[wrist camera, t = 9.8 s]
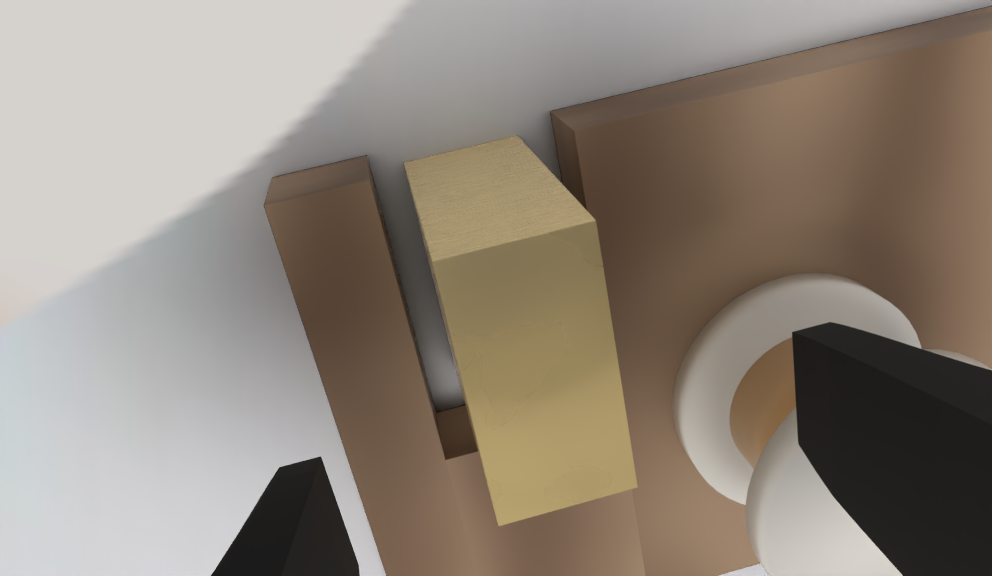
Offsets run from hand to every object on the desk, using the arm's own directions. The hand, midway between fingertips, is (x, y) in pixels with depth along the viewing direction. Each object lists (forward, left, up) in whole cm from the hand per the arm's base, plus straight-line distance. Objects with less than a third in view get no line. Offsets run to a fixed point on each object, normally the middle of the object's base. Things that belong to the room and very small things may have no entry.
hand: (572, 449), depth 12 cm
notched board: (-6, +3, -7) cm, 10 cm away
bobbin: (-6, +4, -5) cm, 9 cm away
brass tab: (0, 0, -7) cm, 7 cm away
